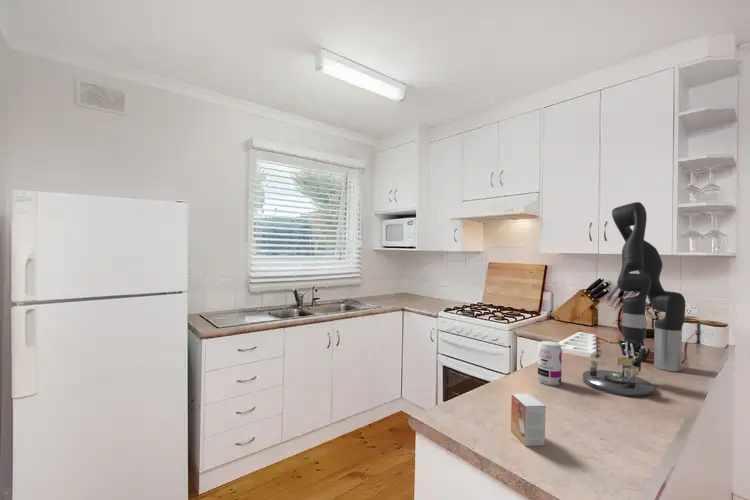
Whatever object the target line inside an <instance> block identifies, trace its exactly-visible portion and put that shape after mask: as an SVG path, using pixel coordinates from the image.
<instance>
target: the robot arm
mask: <svg viewBox="0 0 750 500" xmlns="http://www.w3.org/2000/svg"><path fill="white" fill-rule="evenodd" d="M611 216H612V219H613V222H614V224H615V226H616V228H617V229H618V231H619V233H620V235H621V237H622V238H623V240H624V242H625V243H624V244H623V246H622V250H621V259H622V260H621V261H622V262H621V270H620V273H619V275H618V278H617V282H616V283H617V288H618V289H619V290H620V291H623V292H632V293H633V292H635V293H636V292H637V293H638V294H637V295H636V296H631V297H625V298H623V300H622V318H621V336H622V337H623V340H620V339H619V340H618V344H619V346H620V347H619V348H620V350H621V353H622V354H621V355H622V357H625V358H633V359H634V362H633V366H636V367H639V373H640V372H641V369H642V362H644V363H645V362H647V360H648V357H649V355H650V351H651V349H650V348H647V347H646V346H645V343H644V340H645V339H646V338H647V320H646V319H647V318H646V302H647V299H648V301H649V304H650V305H651V307H652V308H653V310H656V311H658V312H661V313H665V315H664V318H662V319H657V320H655V321H654V337H653V338H654V340H653V341H654V349H653V352H654V353H653V358H654V359H653V366H654V367H655V368H656V369H659V370H663V371H668V372H681V371H682V363H683V362H682V357H683V355H682V354H683V346H682V345H683V343H682V342H683V326H684V323H685V317H686V316H685V314H686V299H685V297H684V295H683V294H682V293H679V292H678V291H677V292H676V291H669V290H668V291H667V290H665V289H664V288H663V285H662V283H661V280H660V276H661V273H662V269H663V261H662V258H661V256H660V254H659V251H658V249H657V248H656V247H655V246H654V245H652V244H651V243H650V242H648V241H646V240H645V236H646V235H645V234H646V228H647V221H648V219H647V210H646V208H645V205H643V204H642V202H639V201H636V202H632V203H628V204H623V205H621V206H617V207H614V208H613V209H612V210H611ZM632 226H633V229H632V228H631V227H632ZM637 271H638V273H634V272H637ZM631 272H632V273H631Z"/></svg>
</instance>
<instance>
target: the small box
mask: <svg viewBox="0 0 750 500" xmlns="http://www.w3.org/2000/svg"><path fill="white" fill-rule="evenodd" d="M510 406H511V407H510V408H511V410H510V412H511V413H510V431H511V432H512V433H513V435H515V437H516V438H517V439H518V440H519V441H520V442H521V443H522V445H523V446H524V447H534V446H536V447H537V446H540V447H541V446H545V444H546V443H545V442H546V413H547V412H546V409H547V406H546V405H545V404H543V402H541V401H540V400H539V399H537V398H536V397H534V396H533V395H532V394H531V393H512V394H511V405H510Z"/></svg>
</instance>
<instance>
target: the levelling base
mask: <svg viewBox="0 0 750 500" xmlns="http://www.w3.org/2000/svg"><path fill="white" fill-rule="evenodd" d="M622 373H623V372H620V371H614V370H613V371H612V370H606V369H597V376H591V375H590V370H586V371H584V372H583V373H582V382H583V383H584V384H585V385H586V386H589V387H590V388H593V389H595V390H597V391H601V392H604V393H606V394H611V395H615V396H621V397H629V398H646V397H651V396H652V395H653V394H654V385H653V384H652V383H651V382H650V381H648V380H646V379H644V378H642V377H639V376H636V377H635V388H632V387H629V386H628V377H626V376H624V375H623V374H622Z"/></svg>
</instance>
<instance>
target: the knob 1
mask: <svg viewBox="0 0 750 500" xmlns="http://www.w3.org/2000/svg"><path fill="white" fill-rule="evenodd" d="M597 370H598V358H597V356H596V355H595V356H590V358H589V371H590V375H591V376H597Z"/></svg>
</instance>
